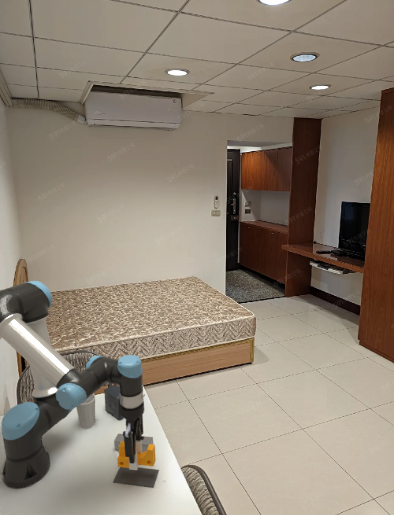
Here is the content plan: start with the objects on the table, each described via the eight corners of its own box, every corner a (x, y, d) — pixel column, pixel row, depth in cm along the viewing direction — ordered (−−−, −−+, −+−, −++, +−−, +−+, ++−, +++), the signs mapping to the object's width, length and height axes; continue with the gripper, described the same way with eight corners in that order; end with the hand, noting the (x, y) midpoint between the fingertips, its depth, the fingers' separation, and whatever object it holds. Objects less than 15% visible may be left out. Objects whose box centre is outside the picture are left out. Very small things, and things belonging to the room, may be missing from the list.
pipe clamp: (117, 466, 118) (116, 450, 117) (122, 456, 122) (121, 440, 121) (152, 470, 116) (151, 454, 115) (155, 460, 121) (154, 444, 119)
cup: (101, 421, 148) (99, 396, 146) (86, 432, 142) (84, 406, 139) (88, 415, 153) (86, 390, 150) (73, 425, 146) (70, 400, 143)
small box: (131, 413, 153) (130, 392, 151) (119, 421, 149) (117, 399, 146) (116, 403, 160) (115, 383, 158) (104, 410, 155) (103, 389, 153)
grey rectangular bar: (114, 450, 133) (114, 440, 132) (118, 442, 136) (118, 433, 136) (150, 454, 131) (150, 444, 130) (153, 446, 134) (153, 437, 134)
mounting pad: (113, 482, 118) (113, 481, 118) (120, 466, 125) (120, 465, 125) (153, 487, 116) (153, 486, 116) (158, 470, 123) (158, 469, 123)
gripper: (134, 421, 105) (138, 485, 110) (150, 387, 122) (153, 445, 127) (110, 418, 107) (115, 483, 112) (130, 386, 123) (133, 443, 128)
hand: (136, 462), depth 119 cm, fingers closed on pipe clamp, 4 cm apart
